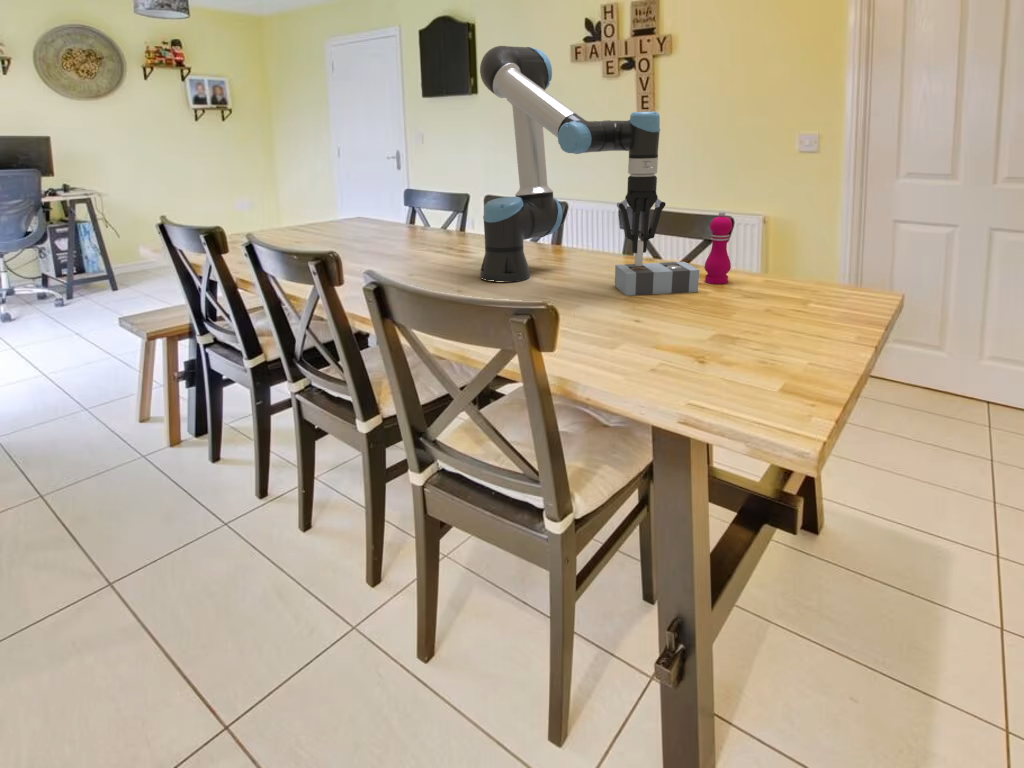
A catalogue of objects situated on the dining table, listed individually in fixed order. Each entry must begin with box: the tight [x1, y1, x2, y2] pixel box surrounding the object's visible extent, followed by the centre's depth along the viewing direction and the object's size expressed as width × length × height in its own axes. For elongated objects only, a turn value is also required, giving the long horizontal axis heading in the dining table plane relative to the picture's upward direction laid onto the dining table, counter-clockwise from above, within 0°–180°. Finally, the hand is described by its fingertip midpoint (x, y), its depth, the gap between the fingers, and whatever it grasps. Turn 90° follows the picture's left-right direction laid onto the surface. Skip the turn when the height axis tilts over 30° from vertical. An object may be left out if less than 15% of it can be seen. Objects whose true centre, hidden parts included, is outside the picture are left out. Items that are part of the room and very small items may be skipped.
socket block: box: [614, 261, 700, 297], centre depth 186 cm, size 20×12×6 cm, turn 96°
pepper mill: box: [704, 210, 733, 285], centre depth 190 cm, size 7×7×20 cm
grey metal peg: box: [667, 265, 681, 269], centre depth 187 cm, size 4×4×6 cm
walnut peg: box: [631, 267, 646, 270], centre depth 186 cm, size 4×4×6 cm
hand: (638, 264), depth 184 cm, fingers closed
